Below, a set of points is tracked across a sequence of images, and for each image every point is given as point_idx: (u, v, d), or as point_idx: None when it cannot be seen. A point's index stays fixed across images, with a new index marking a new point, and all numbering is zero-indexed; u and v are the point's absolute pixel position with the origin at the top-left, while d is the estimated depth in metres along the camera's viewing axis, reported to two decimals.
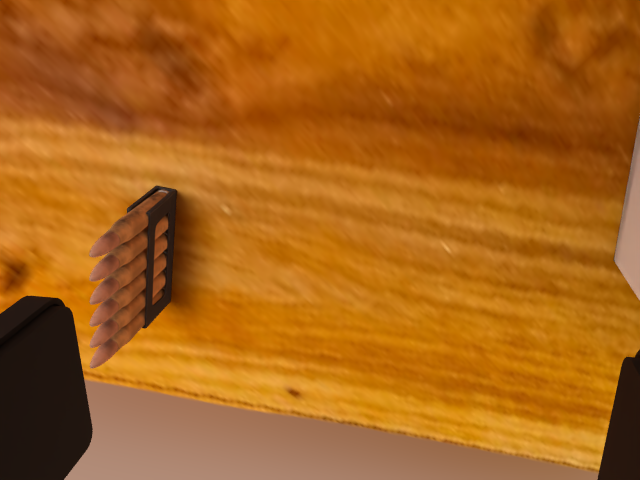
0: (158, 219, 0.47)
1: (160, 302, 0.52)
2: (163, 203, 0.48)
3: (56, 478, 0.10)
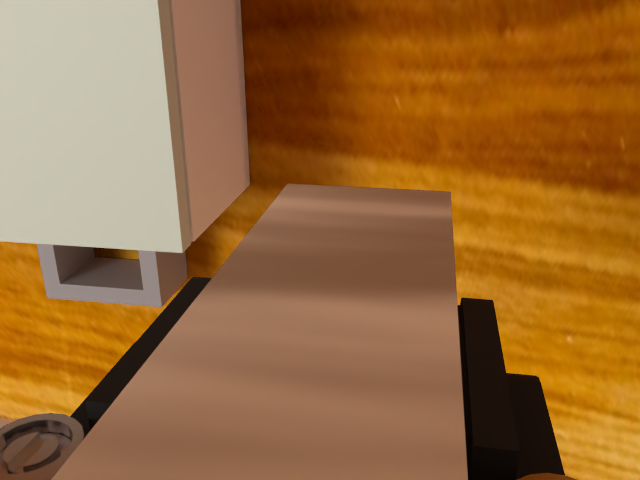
0: None
1: None
2: None
3: None
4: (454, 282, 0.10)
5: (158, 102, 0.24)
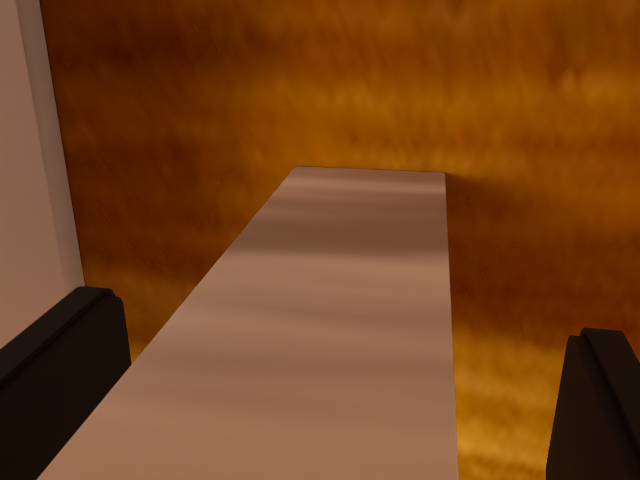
0: None
1: None
2: None
3: None
4: (446, 244, 0.11)
5: None
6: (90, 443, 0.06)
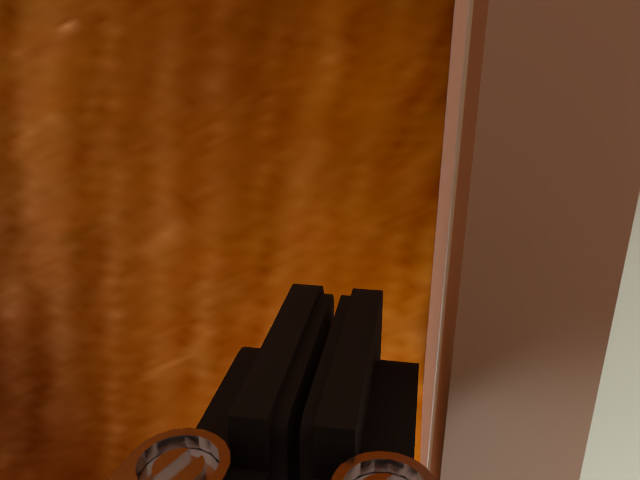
0: None
1: None
2: None
3: None
4: None
5: None
6: None
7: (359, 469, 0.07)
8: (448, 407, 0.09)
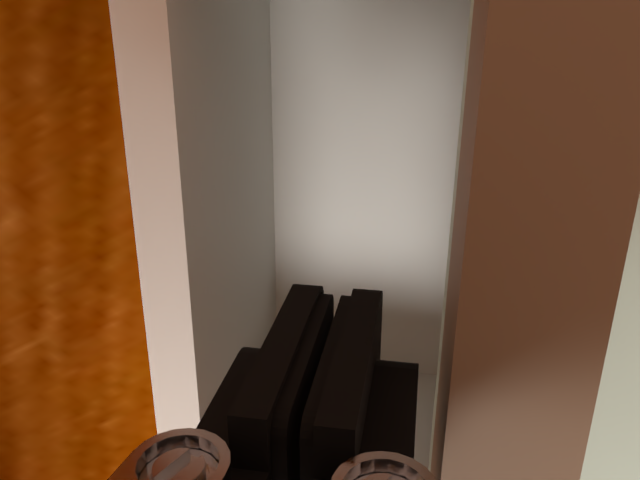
0: None
1: None
2: None
3: None
4: None
5: None
6: None
7: (359, 469, 0.07)
8: (449, 406, 0.09)
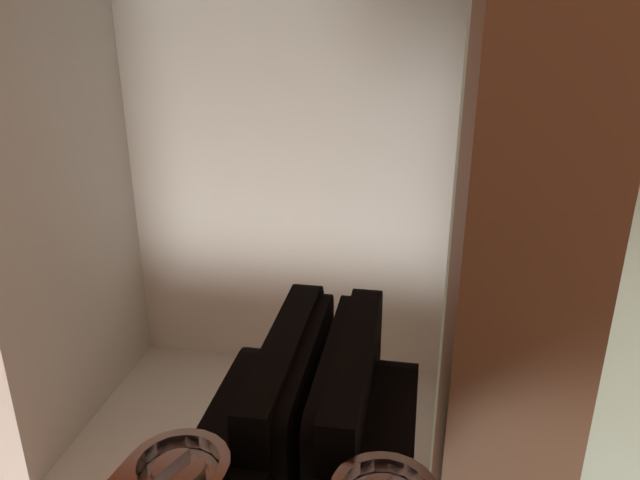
0: None
1: None
2: None
3: None
4: None
5: None
6: None
7: (359, 469, 0.07)
8: (449, 405, 0.09)
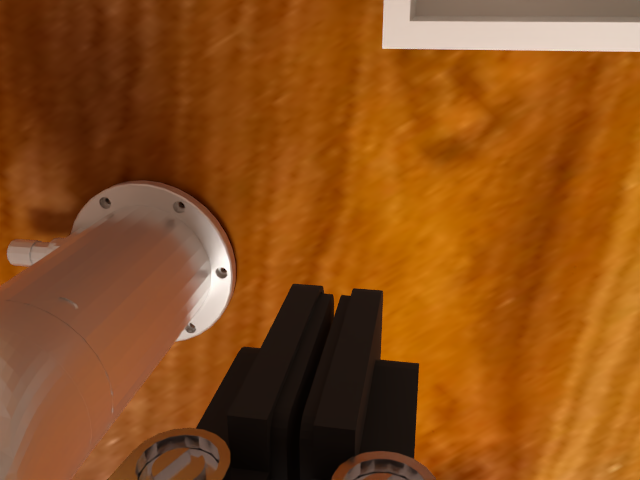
0: None
1: None
2: None
3: None
4: None
5: None
6: None
7: (359, 469, 0.07)
8: None
